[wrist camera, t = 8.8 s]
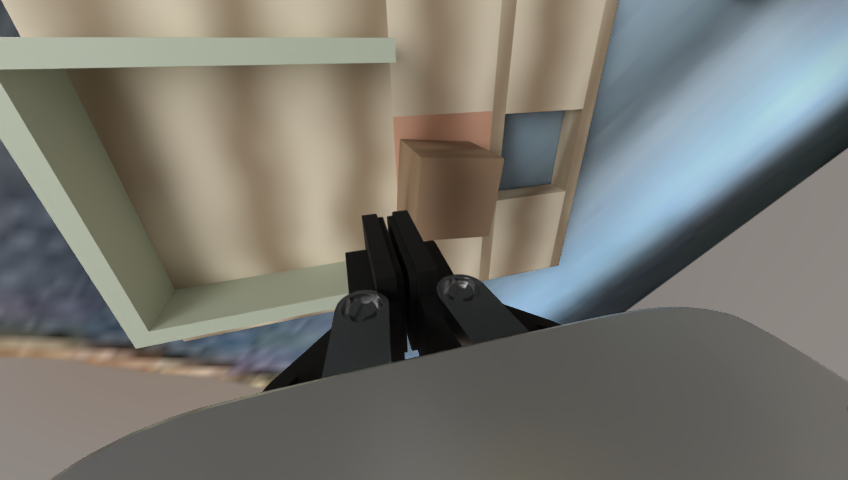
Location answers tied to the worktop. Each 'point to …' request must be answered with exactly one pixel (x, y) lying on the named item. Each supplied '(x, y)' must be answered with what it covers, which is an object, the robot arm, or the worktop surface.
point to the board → (330, 123)
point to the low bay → (107, 198)
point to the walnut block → (448, 187)
